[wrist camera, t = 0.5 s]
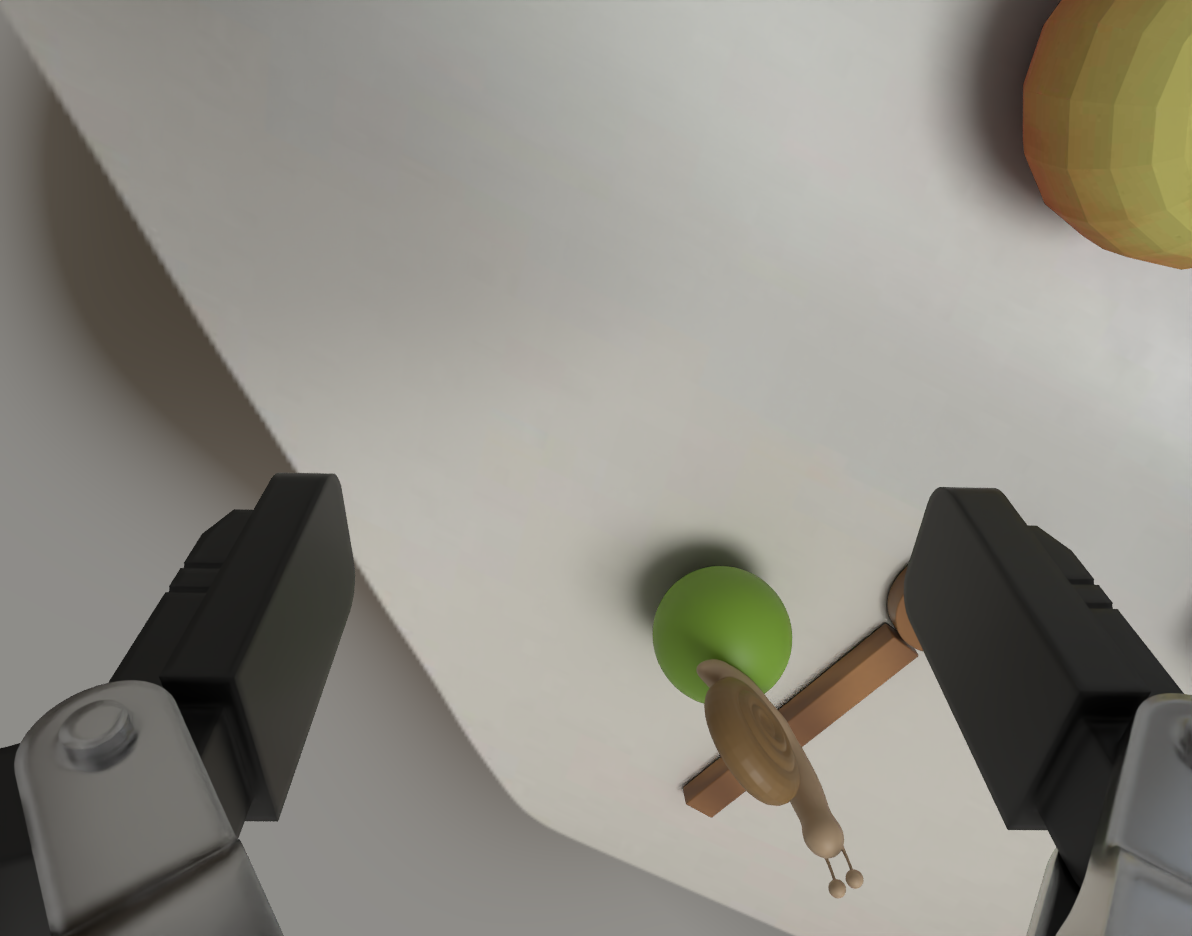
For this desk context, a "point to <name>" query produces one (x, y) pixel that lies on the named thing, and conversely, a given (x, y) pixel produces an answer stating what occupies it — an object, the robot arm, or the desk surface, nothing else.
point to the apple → (1115, 124)
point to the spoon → (824, 697)
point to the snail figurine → (745, 692)
